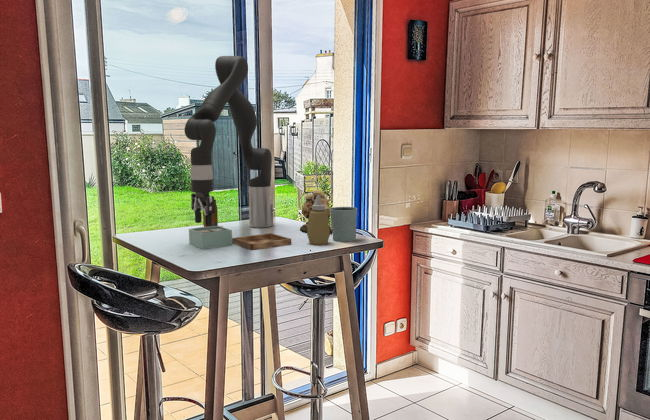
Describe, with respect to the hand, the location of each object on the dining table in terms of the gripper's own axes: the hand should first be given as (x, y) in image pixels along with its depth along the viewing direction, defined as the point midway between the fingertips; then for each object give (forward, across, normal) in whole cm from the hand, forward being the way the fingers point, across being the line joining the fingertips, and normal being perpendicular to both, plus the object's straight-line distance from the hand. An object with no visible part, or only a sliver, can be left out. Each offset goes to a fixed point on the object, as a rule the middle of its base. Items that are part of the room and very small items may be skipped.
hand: (203, 224), depth 192 cm
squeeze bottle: (+8, -21, -34) cm, 41 cm away
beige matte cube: (+8, 0, 0) cm, 8 cm away
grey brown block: (+8, 0, -5) cm, 9 cm away
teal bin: (+8, 0, -2) cm, 8 cm away
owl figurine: (+8, +2, -50) cm, 50 cm away
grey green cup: (+8, -19, -48) cm, 52 cm away
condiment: (+8, +35, -20) cm, 41 cm away
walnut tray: (+8, -10, -18) cm, 22 cm away
